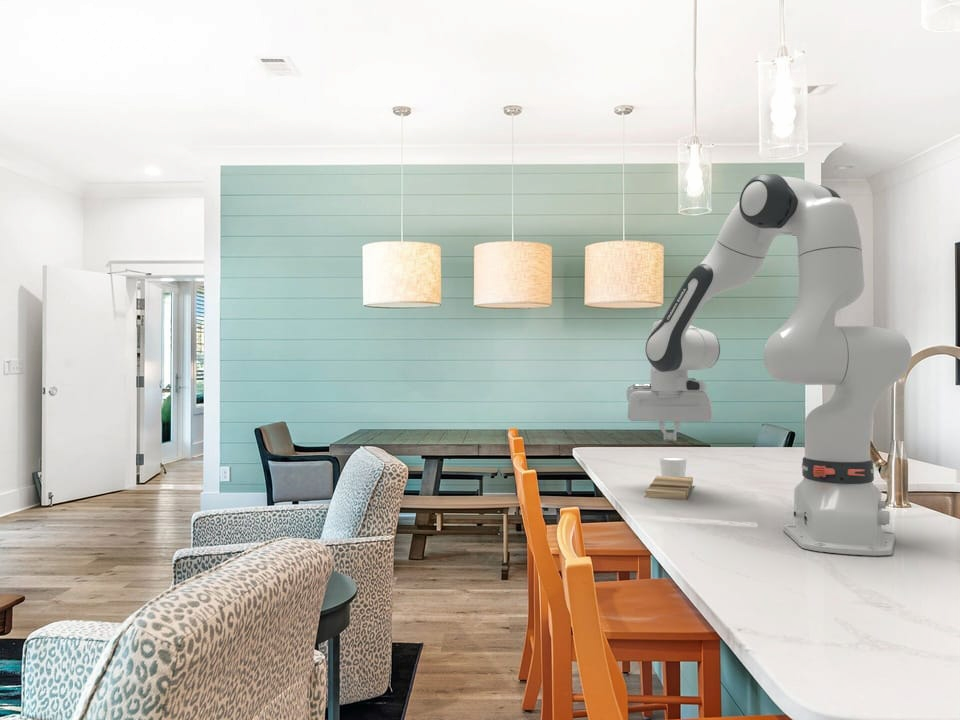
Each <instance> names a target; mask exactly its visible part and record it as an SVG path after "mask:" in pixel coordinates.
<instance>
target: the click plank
mask: <svg viewBox="0 0 960 720" xmlns="http://www.w3.org/2000/svg"><path fill="white" fill-rule="evenodd" d="M693 479H694V478H693V477H692V476H691V477H690V476H685V477H673V476H662V475H656V476H655V478H654V479H653V481H652V482H651V483H650V484H649V486H650V485H657V486H677V487H688V494H689V491H690V489H691V486H693V483H694V480H693Z"/></svg>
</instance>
